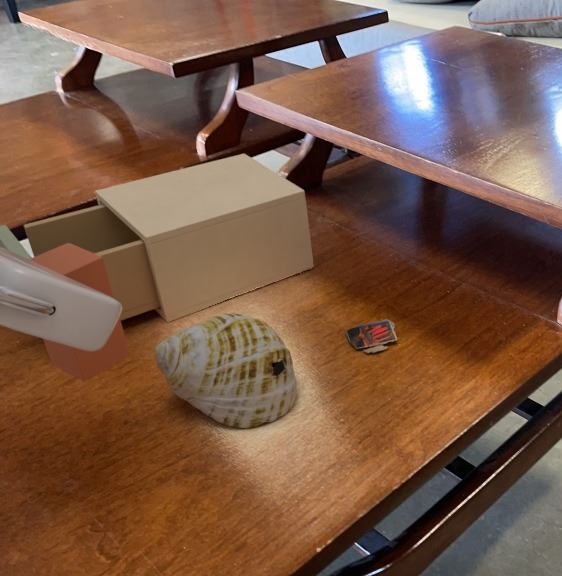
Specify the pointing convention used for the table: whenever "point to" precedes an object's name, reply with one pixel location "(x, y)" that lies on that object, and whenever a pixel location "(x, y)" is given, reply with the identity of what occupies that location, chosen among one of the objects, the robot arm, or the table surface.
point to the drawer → (97, 252)
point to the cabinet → (214, 230)
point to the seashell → (230, 370)
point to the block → (93, 275)
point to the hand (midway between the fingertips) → (82, 305)
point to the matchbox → (372, 335)
